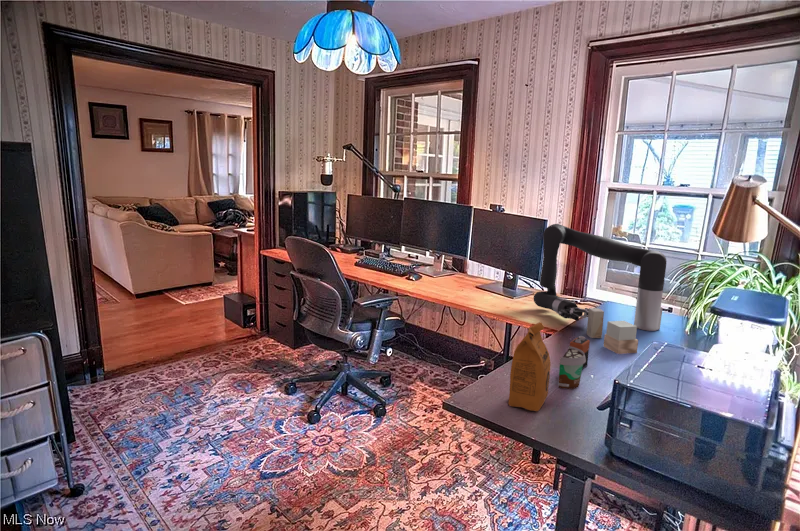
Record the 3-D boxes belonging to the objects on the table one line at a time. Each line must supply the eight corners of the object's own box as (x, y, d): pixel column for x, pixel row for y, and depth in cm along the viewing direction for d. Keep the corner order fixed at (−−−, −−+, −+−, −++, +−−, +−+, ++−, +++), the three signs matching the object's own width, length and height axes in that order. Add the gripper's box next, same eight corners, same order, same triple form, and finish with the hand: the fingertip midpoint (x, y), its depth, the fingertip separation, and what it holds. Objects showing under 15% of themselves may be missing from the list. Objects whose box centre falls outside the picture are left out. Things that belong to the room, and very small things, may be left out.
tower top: (622, 333, 171) (623, 320, 171) (635, 339, 165) (637, 326, 164) (606, 334, 170) (607, 321, 169) (618, 340, 163) (620, 327, 162)
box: (601, 338, 180) (604, 311, 178) (590, 338, 180) (593, 311, 178) (596, 334, 185) (599, 308, 183) (585, 333, 185) (588, 307, 183)
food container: (578, 395, 130) (582, 362, 129) (556, 389, 133) (559, 357, 132) (586, 380, 141) (589, 349, 139) (566, 375, 144) (569, 345, 142)
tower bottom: (621, 345, 173) (623, 332, 172) (636, 353, 165) (638, 340, 164) (603, 346, 171) (604, 334, 170) (617, 354, 164) (619, 341, 163)
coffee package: (553, 399, 127) (560, 324, 123) (538, 417, 117) (545, 335, 113) (519, 389, 133) (524, 317, 129) (502, 405, 123) (507, 327, 119)
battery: (587, 365, 152) (590, 337, 150) (580, 371, 147) (583, 342, 145) (574, 362, 155) (577, 334, 153) (567, 367, 150) (569, 339, 148)
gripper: (551, 300, 200) (572, 310, 184) (579, 298, 203) (603, 308, 187) (549, 316, 201) (571, 327, 185) (578, 315, 204) (601, 326, 189)
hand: (587, 318), depth 186 cm, fingers open, 8 cm apart
